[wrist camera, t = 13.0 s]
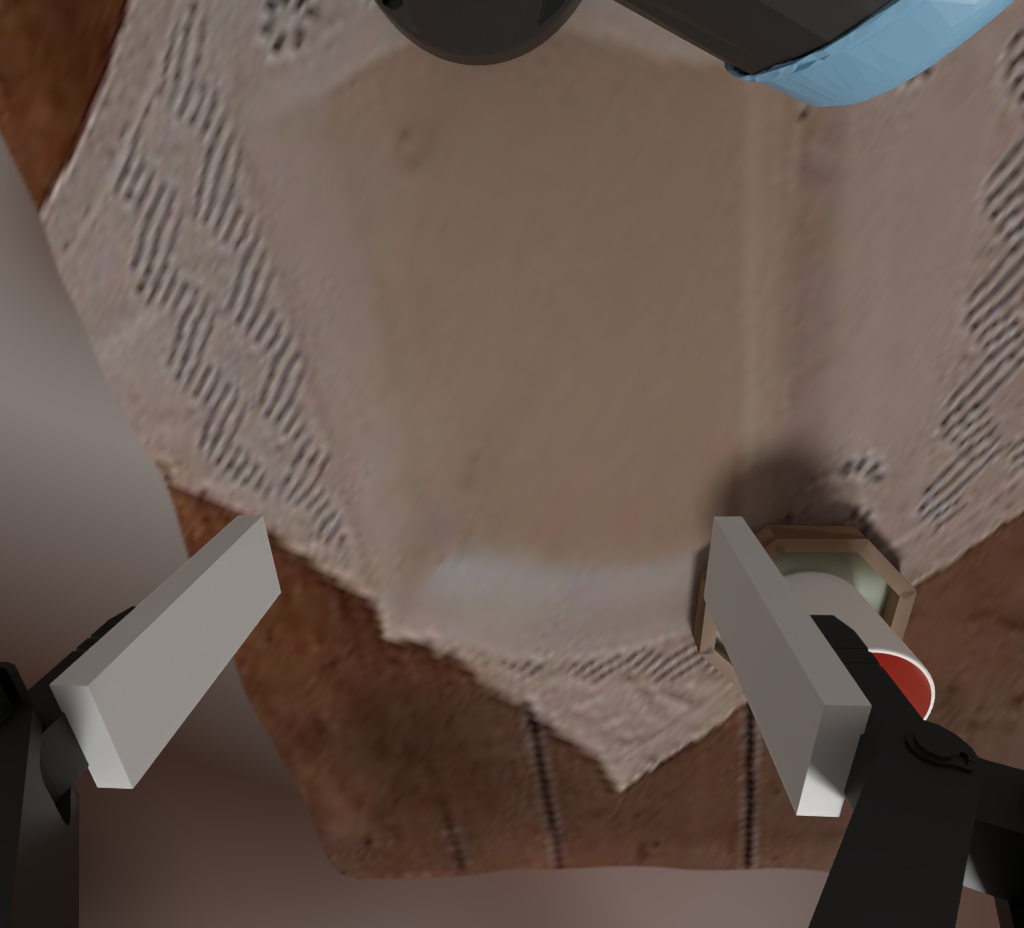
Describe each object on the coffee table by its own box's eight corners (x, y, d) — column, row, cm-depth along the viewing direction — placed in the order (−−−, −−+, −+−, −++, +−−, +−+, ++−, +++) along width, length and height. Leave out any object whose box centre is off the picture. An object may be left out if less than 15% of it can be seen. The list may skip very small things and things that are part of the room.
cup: (778, 546, 44) (839, 628, 35) (883, 589, 45) (969, 680, 36) (714, 635, 48) (753, 729, 39) (812, 673, 49) (873, 774, 40)
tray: (706, 524, 45) (714, 538, 43) (915, 525, 44) (933, 539, 42) (688, 677, 51) (694, 695, 49) (870, 681, 50) (883, 700, 48)
